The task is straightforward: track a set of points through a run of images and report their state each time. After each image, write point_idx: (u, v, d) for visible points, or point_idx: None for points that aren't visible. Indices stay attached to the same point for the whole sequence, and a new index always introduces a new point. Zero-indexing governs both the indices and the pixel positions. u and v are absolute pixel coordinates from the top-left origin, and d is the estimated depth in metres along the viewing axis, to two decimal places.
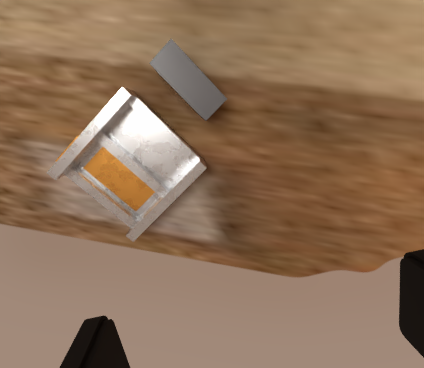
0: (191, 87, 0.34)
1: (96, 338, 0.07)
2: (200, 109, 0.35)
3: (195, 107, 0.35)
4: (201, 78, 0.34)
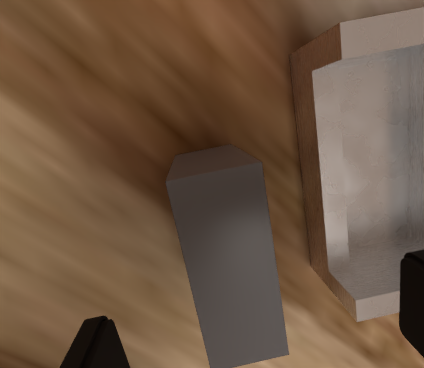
0: (238, 262, 0.12)
1: (96, 338, 0.07)
2: (254, 200, 0.11)
3: (263, 212, 0.11)
4: (200, 267, 0.12)
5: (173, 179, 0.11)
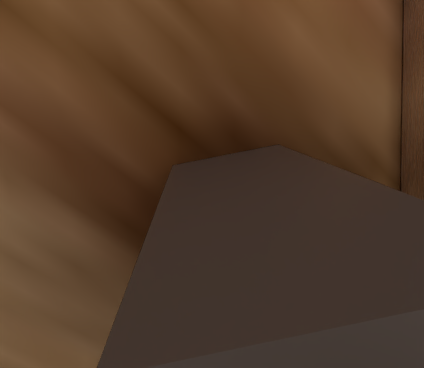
0: None
1: None
2: None
3: None
4: None
5: (139, 359, 0.02)
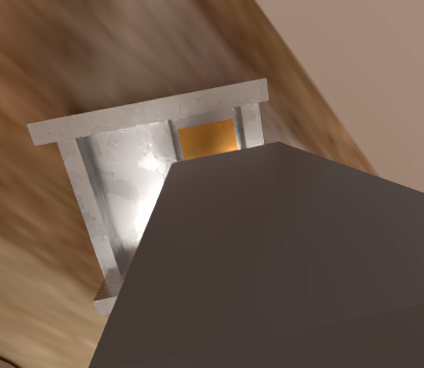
0: None
1: None
2: None
3: None
4: None
5: (134, 354, 0.02)
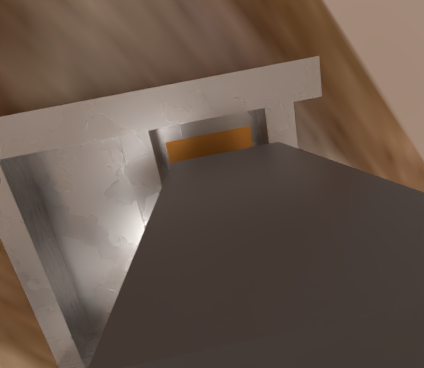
0: None
1: None
2: None
3: None
4: None
5: (133, 355, 0.02)
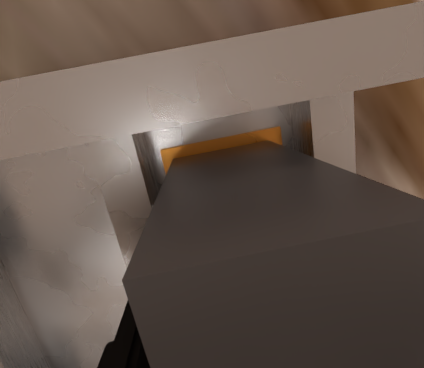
0: None
1: None
2: (409, 326, 0.03)
3: None
4: None
5: (151, 270, 0.03)
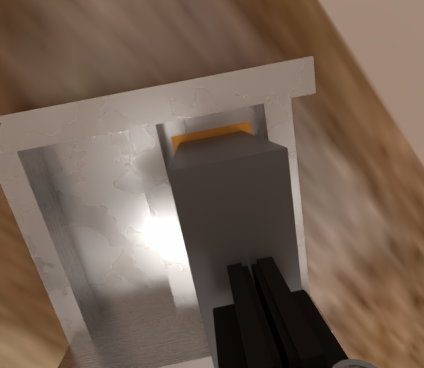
0: None
1: (247, 277, 0.08)
2: (276, 195, 0.09)
3: (286, 210, 0.09)
4: (209, 275, 0.10)
5: (177, 168, 0.09)
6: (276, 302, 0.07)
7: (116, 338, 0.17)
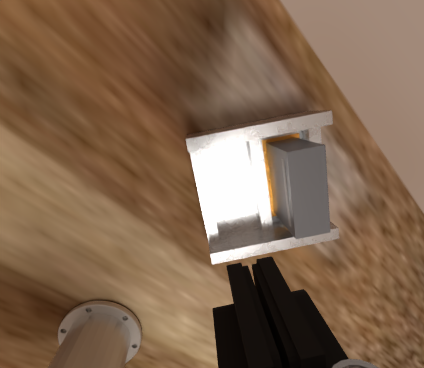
0: (312, 187, 0.28)
1: (247, 277, 0.08)
2: (321, 160, 0.27)
3: (324, 166, 0.27)
4: (296, 189, 0.28)
5: (289, 151, 0.27)
6: (276, 302, 0.07)
7: (232, 238, 0.35)
